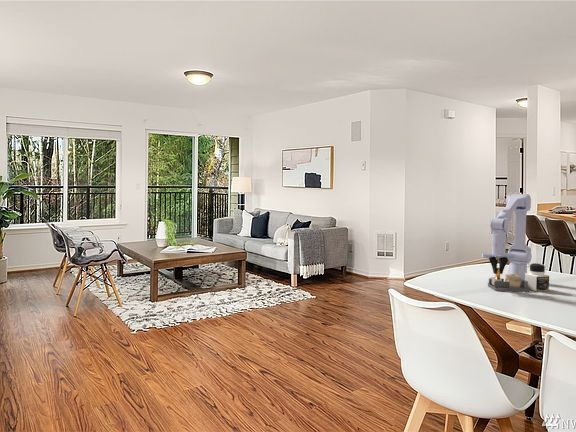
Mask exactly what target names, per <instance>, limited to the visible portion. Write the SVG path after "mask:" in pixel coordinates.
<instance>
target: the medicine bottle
mask: <svg viewBox="0 0 576 432" xmlns="http://www.w3.org/2000/svg"><path fill="white" fill-rule="evenodd" d="M545 272H546V265H545V264H542V263H534V262H533V263H530V264H529V272H527V273H526V274H525V280H526V281H528V288H529V291H533V292H535V293H536V292H547V291H549V289H550V275H548V274H546V273H545Z"/></svg>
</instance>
